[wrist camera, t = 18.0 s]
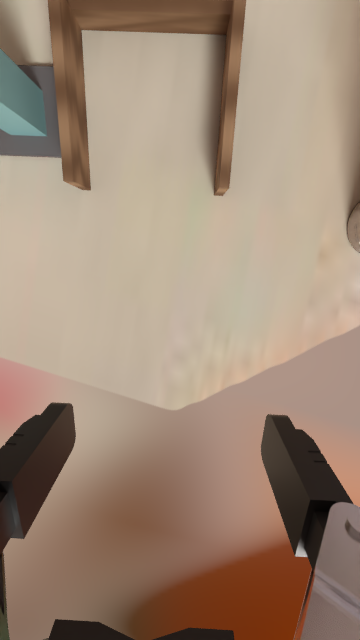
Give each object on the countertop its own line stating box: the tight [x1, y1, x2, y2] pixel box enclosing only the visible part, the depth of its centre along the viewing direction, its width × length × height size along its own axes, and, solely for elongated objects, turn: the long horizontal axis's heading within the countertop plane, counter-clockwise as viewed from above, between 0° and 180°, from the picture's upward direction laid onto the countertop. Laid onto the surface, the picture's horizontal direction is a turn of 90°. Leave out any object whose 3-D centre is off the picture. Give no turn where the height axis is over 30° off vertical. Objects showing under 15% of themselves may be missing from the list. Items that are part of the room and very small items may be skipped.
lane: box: [48, 0, 246, 196], centre depth 31 cm, size 19×20×6 cm
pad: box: [0, 65, 62, 158], centre depth 34 cm, size 10×10×1 cm
